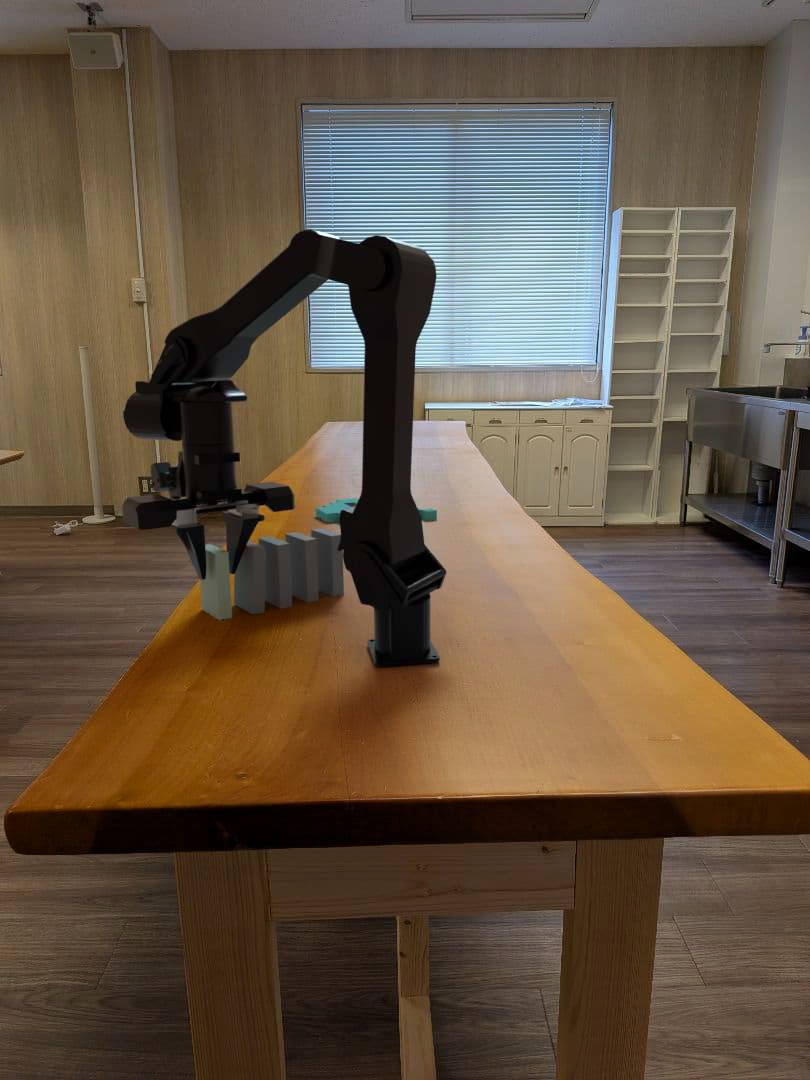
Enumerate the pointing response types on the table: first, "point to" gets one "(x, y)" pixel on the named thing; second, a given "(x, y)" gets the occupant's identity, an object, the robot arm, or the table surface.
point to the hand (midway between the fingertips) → (217, 576)
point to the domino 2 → (277, 572)
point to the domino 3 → (303, 566)
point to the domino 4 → (329, 562)
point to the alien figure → (333, 510)
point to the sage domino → (216, 584)
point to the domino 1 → (251, 579)
